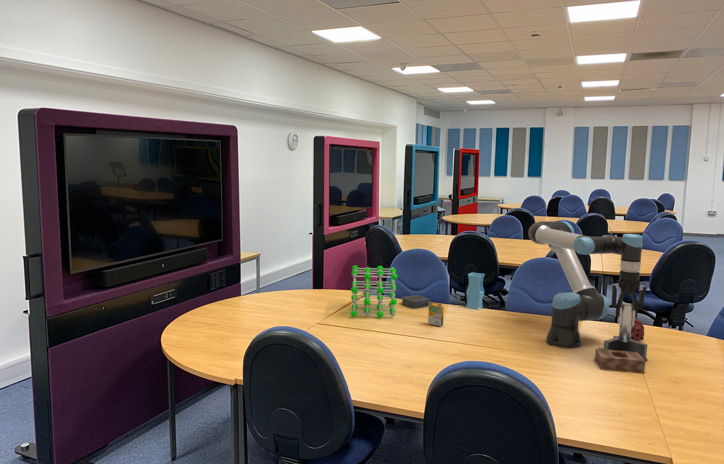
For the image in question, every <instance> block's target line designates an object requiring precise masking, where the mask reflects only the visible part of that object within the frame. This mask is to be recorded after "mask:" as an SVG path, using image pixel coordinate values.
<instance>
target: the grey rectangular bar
mask: <svg viewBox="0 0 724 464" xmlns="http://www.w3.org/2000/svg"><path fill="white" fill-rule="evenodd" d="M621 309H622V320H621V325H619V332H618V336H619V341H622V342H630V338H631V325H632V313H633V309H634V308H633V303H628V302H627V303H626V302H622V305H621Z"/></svg>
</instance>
